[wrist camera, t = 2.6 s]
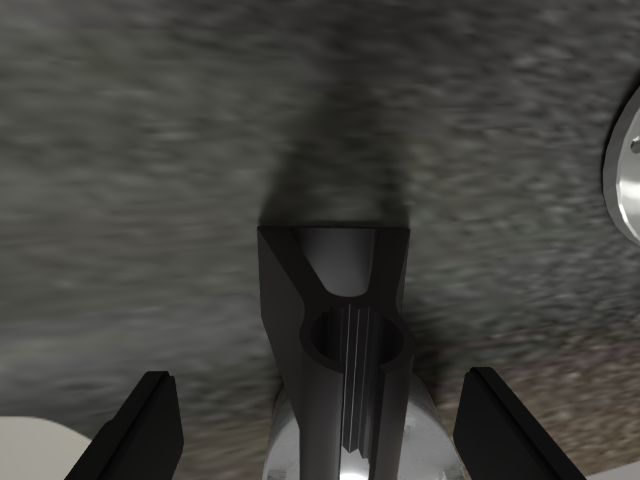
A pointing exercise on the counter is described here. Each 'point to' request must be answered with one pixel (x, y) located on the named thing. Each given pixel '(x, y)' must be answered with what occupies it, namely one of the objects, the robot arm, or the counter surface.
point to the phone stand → (340, 340)
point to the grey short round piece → (415, 460)
